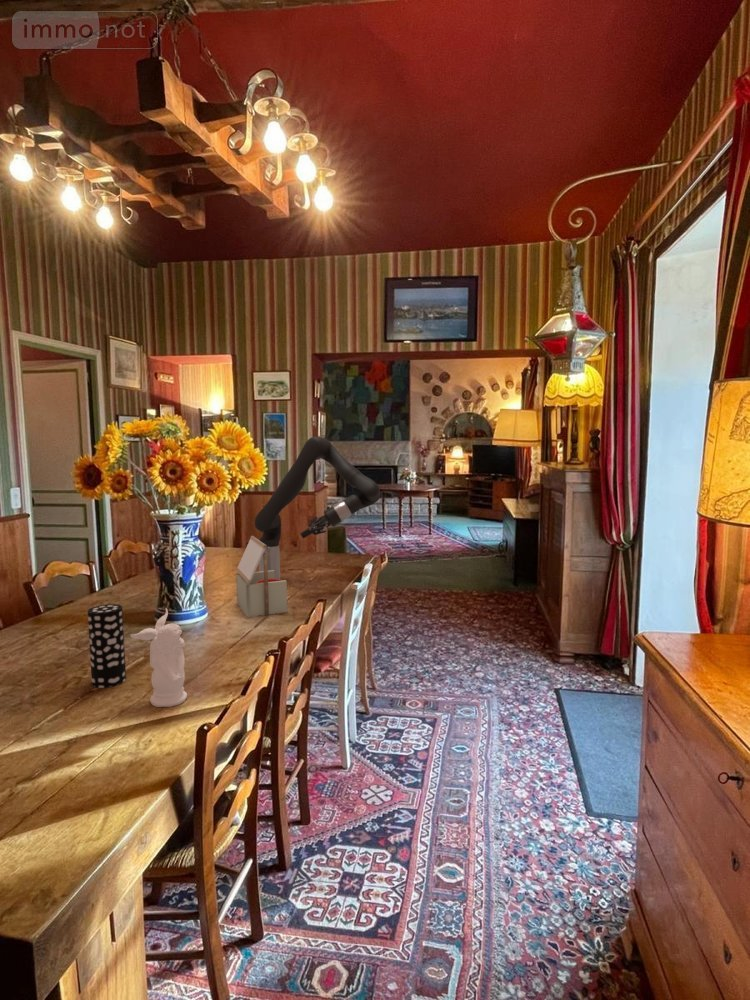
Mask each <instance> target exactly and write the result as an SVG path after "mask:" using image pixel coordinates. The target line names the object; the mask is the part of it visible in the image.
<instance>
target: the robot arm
mask: <svg viewBox="0 0 750 1000" xmlns="http://www.w3.org/2000/svg"><path fill="white" fill-rule="evenodd" d="M318 459H319V460H324V461H325V462H327V463H328V464H330V465H331V466H332V467H333V468H334V470H335V471H336V472H337V474H338V475H339V476H340V477H341V479H342V480H343V481H344V482H346V483H347V485H349V486H350V487H352V488H354V489H357V490H358V491H359V492H361V493H358V494H351V495H348V497H346V498H344V499H342V500H341V501H339V502H337V503H335V504H333V505H331V506H330V507H329V508H327V509H326V510H324V511H323V514H324V515H321V516H319V517H318V516H315V517H313V519H312V520H311V521H310V522H309V524H308V525H307V526H308V527H307V528H306V529H305V530H303V531H302V532H300V536H301V537H302V539H305V538H307V537H309V536H310V535H313V536H315V535H319V534H320V535H321V534H325V533H326V532H327V530H326V529H327V528H329V527H330V526H331V527H334V528H335V527H336V526H337V525H339V524H341V523H342V522H344V521H346V520H347V519H349V518H350V517H351V516H352V515H354V514H356V513H357V512H358V511H360V510H362V509H365V508H367V507H369V506H373V505H374V504H376V503H377V502H378V501H379V500H380V498H381V491H380V487H379V485H378V483H376V482H375V481H374V480H373V479H372V478H370V477H369V476H366V475H365V474H363V473H362V472H361V471H360V470H359V469H358V468H356V467H355V466H353V464H351V463H350V461H348V460H347V459H346V458H345V457H344V456H343V455H342V454H341V453H340V452H339V451H338V450H337V448H335V446H334V445H333V444H332V442H330V441H329V440H328V439H327V438H325V437H321V436H311V437H309V438H308V439H307V440H306V442H305V443H304V445H303V447H302V448H301V450H300V452H299V454H298V456H297V458H296V460H295V461H294V463H293V464H292V465H291V467H290V468H289V470H288V471H287V473H286V474H285V476H284V477H283V479H282V480H281V482H280V483H279V485H278V486H277V488H276V489H275V491H274V492H273V494H272V495H271V497H270V498H269V500H268V501H267V502H266V503H265V505H264V506H263V507H262V508H261V509H260V510H259V512H258V513H257V514H256V516H255V518H254V527H255V528H256V530H258V531H259V532H261V533H262V532H263V533H262V534H261V537H260V538H259V539H258V540H259V541H261V542H262V543H264V544H265V545H267V547H266V549H265V550H264V553H267V564H268V571H271V570H274V579H279V580H281V560H280V559H281V556H280V555H281V554H280V541H281V537H282V533H281V532H282V519H281V514H280V513H281V511H282V510H283V509H285V508H286V507H287V506H288V505H289V504H291V503H292V502H293V501H294V499H296V497H298V495H299V493H301V491H302V489H303V488H304V486H305V484H306V481H307V475H308V472H309V470H310V468H311V467H312V465H313V464H314V462H316V461H317V460H318ZM258 566H259V567H258V568H259V571H258V572H261V571H264V560H263V555H262V557H261V560H260V562H259V564H258Z"/></svg>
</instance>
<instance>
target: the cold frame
mask: <svg viewBox="0 0 750 1000" xmlns="http://www.w3.org/2000/svg"><path fill="white" fill-rule="evenodd" d="M235 577H236V578H235V579H236V603H238V604H237V605H238V607H239V606H240V607H239V608H240V609H241V611H242V610H243V611H242V612H243V613H244V615H245V616H246V617H247V618H252V617H251V616H254V617H259V616H258V615H262V616H265V596H264V583H257V582H258V581H261V580H264V571H261V572H260V571H255V573H254V575H253V578H252V580H251V583H250V584H249V583H247V582H246V581H245V580H244V578H243V577H242V576H241V575H240V574H239V573H236V576H235ZM268 579H274V570H271V571H268ZM287 584H288V583H287V580H283V581H275V582H268V601H269V614H270V615H275V613H277V614H283V613H284V612H285V613H288V587H287Z"/></svg>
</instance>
